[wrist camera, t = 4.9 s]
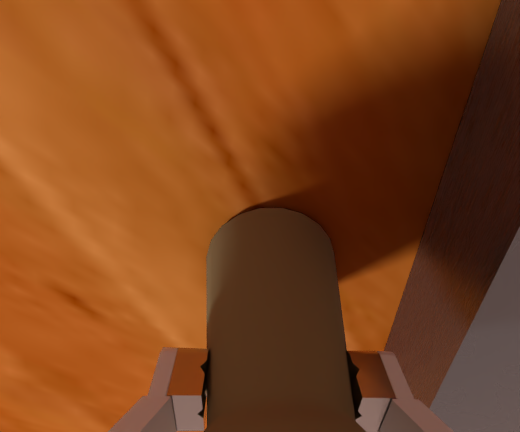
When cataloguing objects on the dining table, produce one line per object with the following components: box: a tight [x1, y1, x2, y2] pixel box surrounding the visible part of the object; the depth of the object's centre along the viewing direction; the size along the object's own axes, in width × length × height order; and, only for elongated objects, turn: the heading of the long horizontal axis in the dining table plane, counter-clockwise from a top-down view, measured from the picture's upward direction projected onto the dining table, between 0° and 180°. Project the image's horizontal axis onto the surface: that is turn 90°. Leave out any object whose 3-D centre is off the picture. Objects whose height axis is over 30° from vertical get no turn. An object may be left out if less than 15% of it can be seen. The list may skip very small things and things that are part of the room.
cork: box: [204, 208, 366, 432], centre depth 11 cm, size 6×6×11 cm
